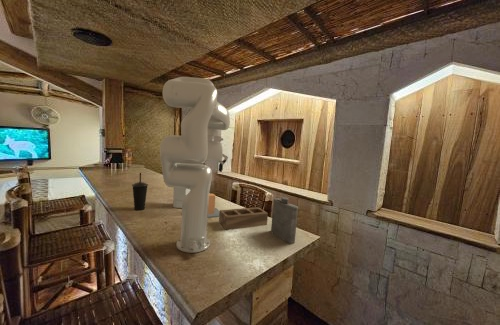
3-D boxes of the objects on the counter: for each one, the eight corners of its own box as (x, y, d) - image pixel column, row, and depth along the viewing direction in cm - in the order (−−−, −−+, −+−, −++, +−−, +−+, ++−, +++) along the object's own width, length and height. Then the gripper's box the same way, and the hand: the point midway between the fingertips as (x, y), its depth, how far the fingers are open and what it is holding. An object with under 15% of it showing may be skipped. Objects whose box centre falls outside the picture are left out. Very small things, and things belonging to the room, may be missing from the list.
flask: (289, 244, 92) (293, 202, 90) (268, 231, 103) (271, 193, 101) (296, 243, 94) (300, 201, 92) (274, 230, 105) (277, 193, 103)
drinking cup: (129, 211, 115) (130, 173, 112) (133, 207, 122) (134, 171, 120) (145, 211, 117) (146, 174, 114) (148, 206, 124) (149, 171, 122)
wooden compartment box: (266, 224, 111) (267, 213, 111) (226, 230, 101) (227, 217, 100) (257, 217, 120) (258, 207, 119) (218, 222, 110) (219, 210, 109)
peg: (214, 213, 120) (215, 195, 119) (206, 214, 118) (207, 195, 117) (211, 210, 124) (212, 193, 123) (204, 211, 122) (205, 193, 121)
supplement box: (189, 205, 133) (190, 184, 131) (185, 208, 125) (186, 187, 124) (178, 203, 133) (178, 183, 132) (172, 207, 126) (173, 185, 125)
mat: (223, 216, 118) (223, 215, 118) (201, 218, 113) (201, 217, 113) (216, 209, 129) (216, 208, 129) (195, 210, 123) (195, 209, 123)
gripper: (226, 140, 124) (224, 170, 125) (195, 138, 116) (193, 170, 117) (231, 141, 117) (229, 172, 119) (199, 138, 109) (197, 172, 111)
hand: (211, 171), depth 118 cm, fingers open, 9 cm apart
